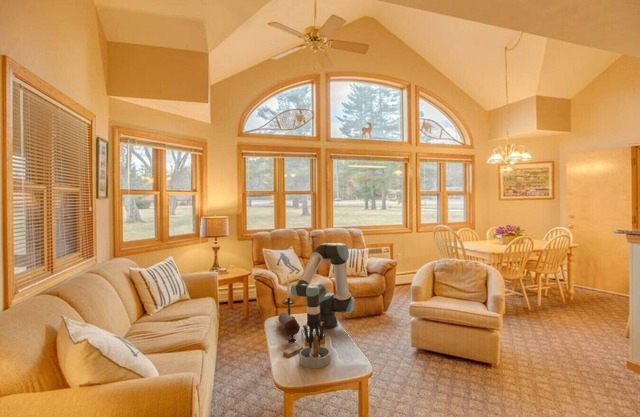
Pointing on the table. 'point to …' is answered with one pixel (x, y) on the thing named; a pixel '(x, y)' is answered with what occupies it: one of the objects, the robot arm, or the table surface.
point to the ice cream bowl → (291, 329)
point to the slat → (292, 351)
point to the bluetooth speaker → (284, 319)
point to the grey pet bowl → (312, 362)
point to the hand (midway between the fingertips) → (314, 352)
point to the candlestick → (288, 300)
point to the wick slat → (315, 345)
